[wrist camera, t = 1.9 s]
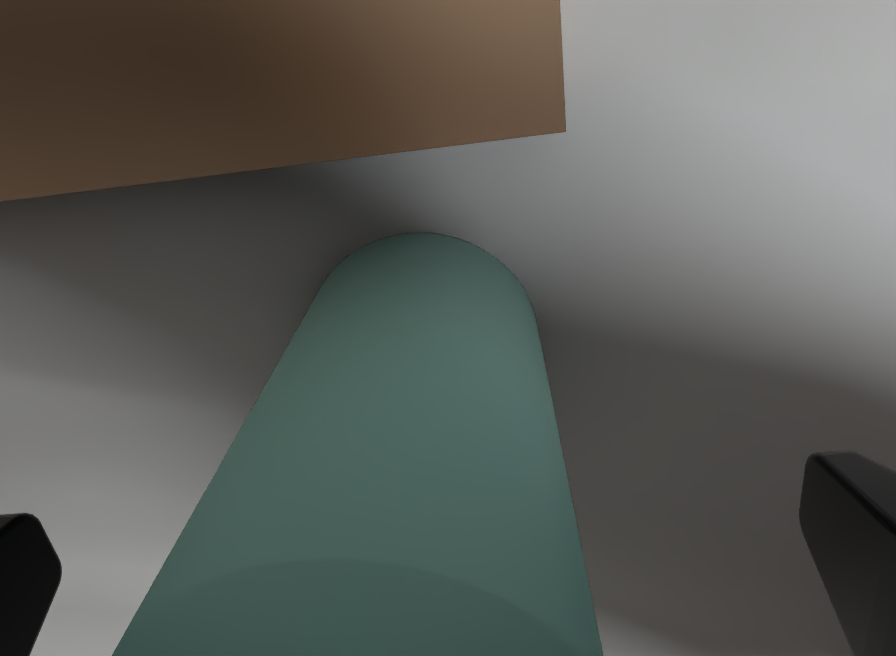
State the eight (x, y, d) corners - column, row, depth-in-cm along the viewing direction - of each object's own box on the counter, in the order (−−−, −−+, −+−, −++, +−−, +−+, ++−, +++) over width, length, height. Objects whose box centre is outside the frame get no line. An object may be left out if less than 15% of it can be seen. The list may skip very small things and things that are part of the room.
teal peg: (545, 428, 12) (622, 880, 6) (334, 445, 12) (189, 889, 6) (529, 220, 10) (613, 538, 4) (285, 247, 11) (14, 579, 4)
